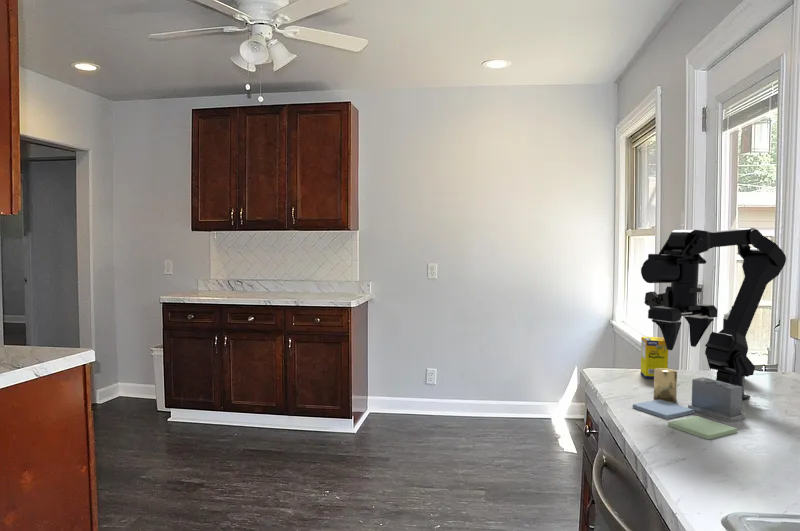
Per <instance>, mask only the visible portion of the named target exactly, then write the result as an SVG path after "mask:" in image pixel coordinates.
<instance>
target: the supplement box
mask: <svg viewBox="0 0 800 531" xmlns="http://www.w3.org/2000/svg"><path fill="white" fill-rule="evenodd" d="M640 342H641V345H640V349H641V350H640V374H641V376H643V378H644V379H647V380H648V379H649V380H654V369H656V368H667V369H669V367H668V365H669V350H668V349H667V347H666V344H665V340H664V337H663V336H661V337H659V336H641V341H640Z"/></svg>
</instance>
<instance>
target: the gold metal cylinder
mask: <svg viewBox="0 0 800 531" xmlns="http://www.w3.org/2000/svg"><path fill="white" fill-rule="evenodd" d="M677 385H678V371H677V370H675V369H671V368H668V369H667V368H656V369H654V379H653V399H654V400H658V399H660V400H663V401H667V402H670V403H674V402H677V395H678V394H677V392H678V390H677V389H678V387H677Z"/></svg>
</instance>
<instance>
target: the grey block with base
mask: <svg viewBox="0 0 800 531" xmlns="http://www.w3.org/2000/svg"><path fill="white" fill-rule="evenodd" d="M687 408H690V409H693V410H694V412H695V413H700V414H702V415H707V416H709V417H711V418H712V417H713V418H716V419H719V420H722V421H725V422H729V423H732V422H737V421H741V420H745V419H746V414H745V413H743V412H742V410H743V409H742V408H743V399H742V386H737V385H733V384H729V383H725V382H721V381H717V380H716V379H712V378H709V377H700V378H699V377H698V378H693V379H692V381H691V404H688V406H687Z"/></svg>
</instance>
